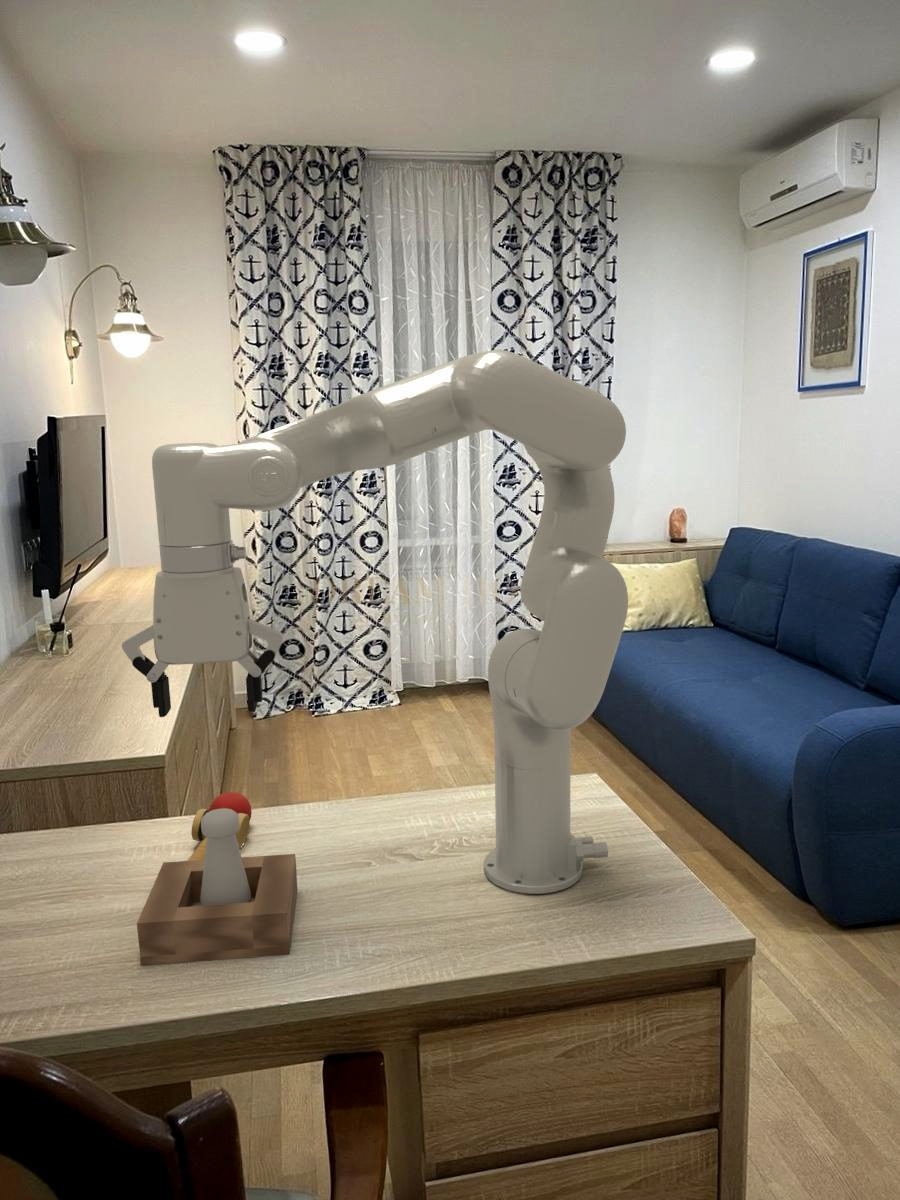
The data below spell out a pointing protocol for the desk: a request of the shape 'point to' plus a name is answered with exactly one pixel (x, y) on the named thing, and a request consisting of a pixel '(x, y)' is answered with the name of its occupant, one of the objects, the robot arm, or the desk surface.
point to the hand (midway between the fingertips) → (209, 710)
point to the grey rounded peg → (223, 860)
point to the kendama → (222, 801)
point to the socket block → (218, 914)
